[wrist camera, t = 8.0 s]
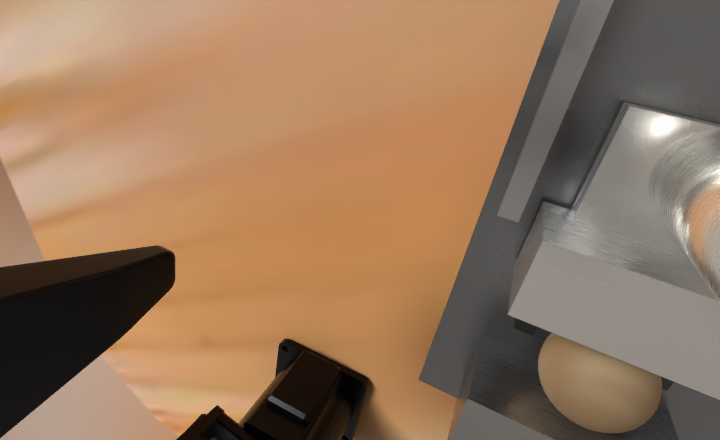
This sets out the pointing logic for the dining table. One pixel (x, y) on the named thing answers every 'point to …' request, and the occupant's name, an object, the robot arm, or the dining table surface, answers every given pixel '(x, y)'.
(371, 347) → the dining table surface
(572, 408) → the tan ball
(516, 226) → the press base
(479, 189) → the dining table surface
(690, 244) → the ram
